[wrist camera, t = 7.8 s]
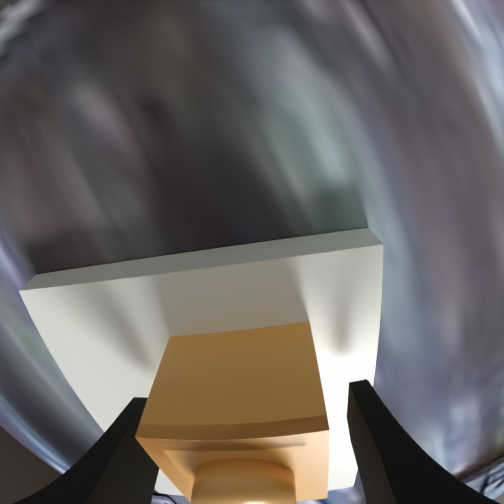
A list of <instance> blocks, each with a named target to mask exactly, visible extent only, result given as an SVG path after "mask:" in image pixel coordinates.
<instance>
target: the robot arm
mask: <svg viewBox="0 0 504 504" xmlns="http://www.w3.org/2000/svg"><path fill="white" fill-rule="evenodd" d="M147 399H148V398H146V397H133V399H132V400H131V401H130V402H129V403H128V405H127V406H126V407H125V408H124V409H123V411H122V412H121V413H120V414H119V416H118V417H117V418H116V419H115V421H114V422H113V423H112V424H111V426H110V427H109V428H108V429H107V430H106V431H105V433H104V434H103V435H102V436H101V437H100V439H99V440H98V441H97V442H96V443H95V444H94V445H93V446H92V447H91V448H90V449H89V451H88V452H87V453H86V454H85V455H84V456H83V457H82V458H81V459H80V460H79V461H78V462H77V463H76V464H74V465H73V466H72V467H71V468H70V469H69V470H68V471H66V472H65V473H64V474H63V475H61V476H60V477H59V478H57V479H56V480H54V481H53V482H52V483H50V484H49V485H47V486H46V487H44V488H43V489H41V490H40V491H38V492H36V493H35V494H33V495H31V496H29V497H27V498H25V499H23V500H20V501H18V502H16V503H14V504H174V503H173V502H172V501H171V500H170V499H169V498H167V497H163V496H155V495H153V492H154V488H155V484H156V480H157V476H158V472H159V469H160V468H159V467H158V466H157V464H156V463H155V462H154V461H153V460H152V458H151V457H150V456H149V455H148V453H147V452H146V451H145V450H144V448H143V447H142V446H141V444H140V443H139V442H138V441H137V439H136V438H135V436H136V432H137V429H138V426H139V423H140V420H141V417H142V414H143V411H144V408H145V405H146V402H147ZM346 417H347V423H348V429H349V435H350V441H351V445H352V448H353V452H354V455H355V459H356V463H357V466H358V470H359V473H360V477H361V481H362V485H363V488H364V493H365V497H366V504H500V503H498V502H496V501H494V500H492V499H490V498H488V497H486V496H484V495H482V494H481V493H479V492H477V491H475V490H474V489H472V488H471V487H469V486H467V485H466V484H464V483H463V482H462V481H460V480H459V479H457V478H456V477H455V476H453V475H452V474H451V473H449V472H448V471H446V470H445V469H444V468H443V467H442V466H440V465H439V464H438V463H437V462H436V461H435V460H433V459H432V458H431V457H430V456H429V455H428V454H427V453H426V452H425V451H424V450H423V449H422V448H421V447H420V446H419V445H418V444H417V443H416V442H415V441H414V440H413V439H412V438H411V437H410V436H409V434H408V433H407V432H406V431H405V430H404V429H403V428H402V426H401V425H400V424H399V423H398V421H397V420H396V419H395V418H394V416H393V415H392V414H391V413H390V411H389V410H388V409H387V407H386V406H385V405H384V403H383V402H382V400H381V399H380V398H379V396H378V395H377V393H376V392H375V390H374V388H373V387H372V385H371V384H370V382H369V381H368V380H367V379H364V380H359V381H353V382H349V389H348V403H347V416H346Z"/></svg>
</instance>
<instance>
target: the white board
mask: <svg viewBox="0 0 504 504" xmlns="http://www.w3.org/2000/svg"><path fill="white" fill-rule="evenodd" d="M382 274H383V244H382V242H381V241H380V240H379V239H378V238H377V236H376V235H375V234H374V233H373V232H372V231H371V229H370V228H363V229H355V230H347V231H340V232H332V233H325V234H317V235H310V236H302V237H295V238H287V239H280V240H273V241H265V242H258V243H251V244H243V245H236V246H229V247H222V248H215V249H207V250H200V251H193V252H186V253H179V254H172V255H165V256H158V257H151V258H144V259H137V260H130V261H123V262H117V263H110V264H103V265H96V266H89V267H83V268H76V269H69V270H63V271H56V272H49V273H43V274H37V275H35V276H34V277H33V278H32V279H31V280H30V281H29V282H28V283H27V284H26V285H25V286H23V287H22V288H21V289H20V290H19V293H20V295H21V297H22V299H23V301H24V303H25V305H26V307H27V310H28V312H29V314H30V316H31V318H32V320H33V322H34V324H35V325H36V327H37V329H38V331H39V333H40V335H41V337H42V339H43V340H44V342H45V344H46V346H47V347H48V349H49V351H50V353H51V354H52V356H53V358H54V360H55V361H56V363H57V365H58V366H59V368H60V369H61V371H62V373H63V374H64V376H65V377H66V379H67V380H68V382H69V384H70V385H71V387H72V388H73V390H74V391H75V393H76V394H77V396H78V397H79V398H80V400H81V401H82V403H83V404H84V406H85V407H86V408H87V410H88V411H89V413H90V414H91V415H92V417H93V418H94V419H95V421H96V422H97V423H98V425H99V426H100V427H101V428H102V430H103V431H104V432H105V431H106V430H107V429H108V428H109V427H110V426H111V424H112V423H113V422H114V421H115V419H116V418H117V417H118V416H119V414H120V413H121V412H122V411H123V409H124V408H125V407H126V406H127V405H128V403H129V402H130V401H131V400H132V399H133V397H146V398H148V396H149V393H150V390H151V388H152V385H153V382H154V379H155V376H156V373H157V370H158V368H159V365H160V362H161V359H162V356H163V354H164V351H165V348H166V345H167V342H168V340H169V337H170V336H183V335H195V334H207V333H218V332H228V331H237V330H246V329H255V328H263V327H271V326H279V325H287V324H294V323H301V322H308V321H310V326H311V331H312V336H313V341H314V346H315V351H316V356H317V362H318V367H319V372H320V378H321V383H322V389H323V394H324V400H325V406H326V411H327V417H328V423H329V429H330V438H329V473H328V491H329V490H335V489H341V488H347V487H352V486H354V482H355V478H356V473H357V469H358V466H357V463H356V459H355V455H354V452H353V448H352V445H351V441H350V435H349V429H348V423H347V417H346V416H347V403H348V389H349V382H353V381H359V380H364V379H367V380H368V381H369V382H370V384H371V385H372V387H373V381H374V374H375V366H376V357H377V348H378V337H379V326H380V313H381V297H382ZM154 489H155V490H156V491H157V492H158V493H162V494H171V495H182V496H184V495H183V494H182V493H181V492H180V491H179V490H178V488H177V487H176V486H175V485H174V484H173V483H172V482H171V481H170V480H169V478H168V477H167V476H166V475H165V474H164V473H163V471H162V470H161V469H159V472H158V476H157V480H156V484H155V488H154Z"/></svg>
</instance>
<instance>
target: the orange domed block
mask: <svg viewBox="0 0 504 504" xmlns="http://www.w3.org/2000/svg"><path fill="white" fill-rule="evenodd" d="M135 438H136V439H137V441H138V442H139V443H140V444H141V446H142V447H143V448H144V450H145V451H146V452H147V453H148V455H149V456H150V457H151V458H152V460H153V461H154V462H155V463H156V464H157V466H158V467H159V468H160V469H161V470H162V471H163V473H164V474H165V475H166V476H167V477H168V478H169V480H170V481H171V482H172V483H173V484H174V485H175V486H176V487H177V488H178V490H179V491H180V492H181V493H182V494H183V495H184V496H185V497H186V498H187V499H188V500H189V501H190V502H191V503H192V504H296V502H299V501H308V500H316V499H323V498H327V494H328V473H329V438H330V429H329V423H328V417H327V411H326V406H325V400H324V394H323V389H322V383H321V378H320V372H319V367H318V362H317V356H316V351H315V346H314V341H313V336H312V331H311V326H310V321H308V322H301V323H294V324H287V325H279V326H271V327H263V328H255V329H246V330H237V331H228V332H218V333H207V334H195V335H183V336H170V337H169V340H168V342H167V345H166V348H165V351H164V354H163V356H162V359H161V362H160V365H159V368H158V370H157V373H156V376H155V379H154V382H153V385H152V388H151V390H150V393H149V396H148V399H147V402H146V405H145V408H144V411H143V414H142V417H141V420H140V423H139V426H138V429H137V432H136V436H135Z"/></svg>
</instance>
